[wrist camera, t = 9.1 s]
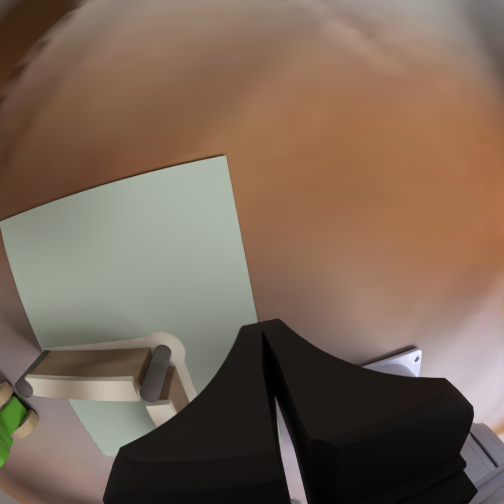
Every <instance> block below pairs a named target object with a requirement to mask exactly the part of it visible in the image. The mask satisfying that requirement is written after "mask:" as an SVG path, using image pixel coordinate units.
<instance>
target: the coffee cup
mask: <svg viewBox="0 0 504 504" xmlns="http://www.w3.org/2000/svg"><path fill="white" fill-rule="evenodd" d="M291 504H302V503H301V502H299V501H296V500H291Z"/></svg>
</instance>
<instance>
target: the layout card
mask: <svg viewBox="0 0 504 504" xmlns="http://www.w3.org/2000/svg"><path fill="white" fill-rule="evenodd" d="M0 228H1V233H2V237H3V241H4V245H5V249H6V253H7V256H8V260H9V264H10V267H11V270H12V274H13V277H14V280H15V283H16V286H17V289H18V292H19V295H20V298H21V301H22V303H23V306H24V309H25V311H26V314H27V317H28V319H29V322H30V324H31V327H32V329H33V331H34V334H35V336H36V338H37V341H38V343H39V345H40V347H41V349H42V352H43V351H44V350H49V351H87V350H113V349H132V348H147V347H150V349H151V352H152V356H153V354H154V351H155V348H156V347H157V346H158V345H166V346H168V347H169V348H170V349H171V357H170V361H169V364H168V367H173V366H176V369H177V372H178V374H179V377H180V380H181V382H182V385H183V387H184V390H185V392H186V395H187V397H188V400H189V402H191V401H192V400H193V399H194V398H195V397H196V396H197V395H198V394H200V393H201V391H202V390H203V389H204V388H205V387H206V386H207V385H208V383H209V382H210V381H211V380H212V378H213V377H214V376H215V374H216V373H217V371H218V370H219V368H220V367H221V365H222V364H223V362H224V361H225V359H226V357H227V355H228V353H229V352H230V350H231V348H232V346H233V344H234V342H235V340H236V337H237V335H238V332H239V329H240V328H241V326H243V325H248V324H253V323H258V320H257V315H256V310H255V305H254V299H253V294H252V289H251V284H250V279H249V274H248V269H247V264H246V259H245V254H244V248H243V243H242V238H241V233H240V228H239V223H238V217H237V212H236V207H235V202H234V196H233V191H232V186H231V181H230V175H229V170H228V165H227V160H226V155H225V156H220V157H215V158H210V159H205V160H200V161H196V162H191V163H187V164H182V165H178V166H174V167H169V168H165V169H161V170H157V171H153V172H149V173H145V174H141V175H138V176H134V177H130V178H127V179H123V180H119V181H116V182H112V183H109V184H106V185H102V186H99V187H96V188H92V189H89V190H86V191H83V192H80V193H77V194H73V195H70V196H67V197H64V198H62V199H59V200H56V201H53V202H50V203H47V204H44V205H42V206H39V207H36V208H33V209H31V210H28V211H26V212H23V213H20V214H18V215H15V216H13V217H10V218H8V219H5V220H3V221H0ZM67 400H68V401H69V403H70V405H71V406H72V408H73V410H74V411H75V413H76V415H77V416H78V418H79V419H80V421H81V423H82V424H83V426H84V427H85V429H86V430H87V432H88V433H89V435H90V436H91V438H92V439H93V441H94V442H95V443H96V445H97V446H98V448H99V449H100V450H101V452H102V453H103V455H104V456H117V453H118V451H119V448H120V447H122V446H124V445H126V444H128V443H130V442H132V441H134V440H136V439H138V438H140V437H141V436H143V435H145V434H147V433H149V432H151V431H152V430H154V429H156V428H157V427H156V425H155V424H154V422H153V420H152V418H151V416H150V414H149V412H148V410H147V408H146V403H147V401H145V400H143V399H142V398H140V401H94V400H75V399H67ZM277 423H278V419H277ZM278 433H279V444H280V443H282V438H281V433H280V428H279V423H278Z"/></svg>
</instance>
